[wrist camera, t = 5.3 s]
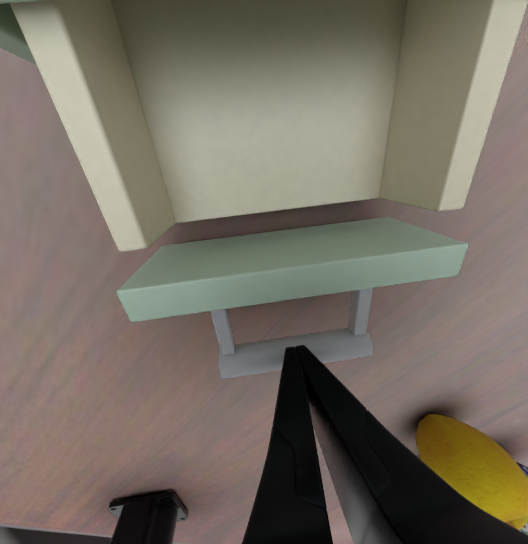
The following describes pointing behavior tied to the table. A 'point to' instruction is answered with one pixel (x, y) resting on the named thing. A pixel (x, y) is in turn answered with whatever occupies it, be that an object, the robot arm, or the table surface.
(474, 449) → the apple
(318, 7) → the drawer
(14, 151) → the table surface
